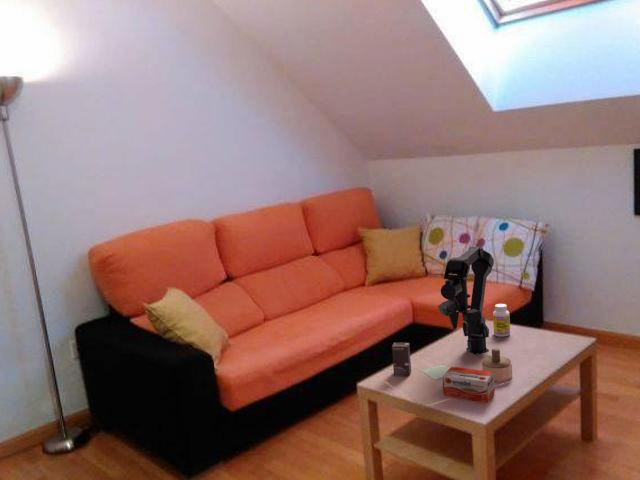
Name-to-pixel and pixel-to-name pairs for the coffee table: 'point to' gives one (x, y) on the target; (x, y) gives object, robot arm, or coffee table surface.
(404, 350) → the box
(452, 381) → the medicine box
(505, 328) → the supplement bottle
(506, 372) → the bowl
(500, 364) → the lid
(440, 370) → the mat
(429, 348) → the coffee table surface
